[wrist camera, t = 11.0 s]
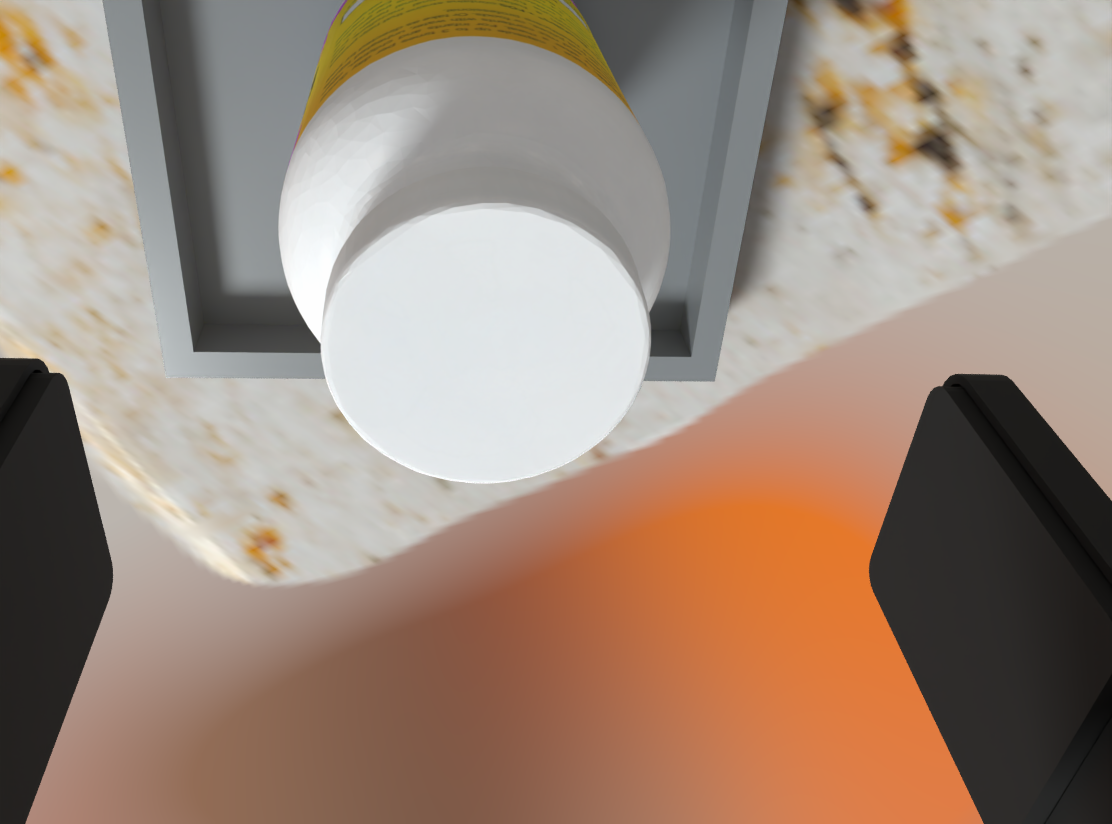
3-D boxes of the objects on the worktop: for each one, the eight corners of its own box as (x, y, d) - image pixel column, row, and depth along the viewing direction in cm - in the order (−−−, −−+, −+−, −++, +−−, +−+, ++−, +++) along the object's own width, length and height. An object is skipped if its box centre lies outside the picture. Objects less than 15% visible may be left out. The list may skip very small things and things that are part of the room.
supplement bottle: (278, -23, 23) (154, 196, 12) (561, -102, 22) (682, 53, 12) (376, 238, 27) (344, 576, 16) (618, 174, 26) (748, 475, 16)
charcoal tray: (798, -250, 22) (836, -248, 20) (695, 337, 30) (714, 381, 28) (86, -316, 20) (48, -321, 18) (184, 330, 29) (165, 377, 27)
